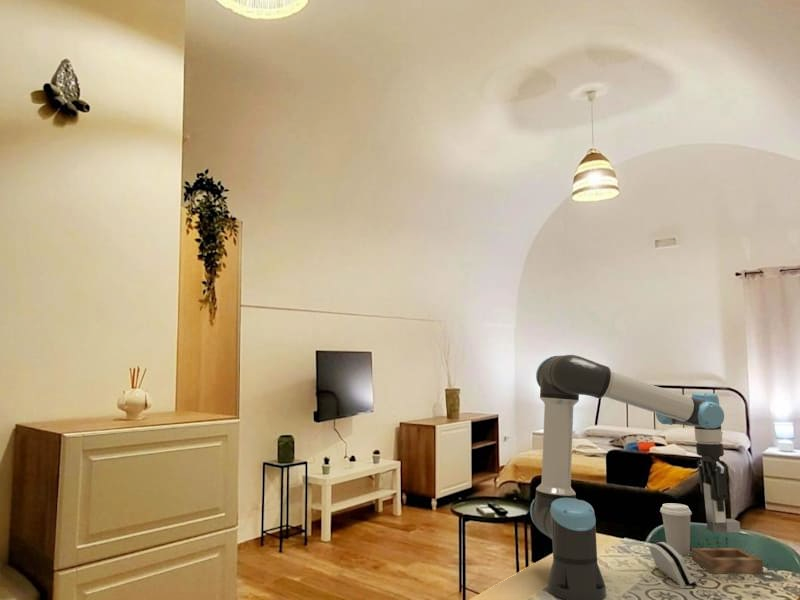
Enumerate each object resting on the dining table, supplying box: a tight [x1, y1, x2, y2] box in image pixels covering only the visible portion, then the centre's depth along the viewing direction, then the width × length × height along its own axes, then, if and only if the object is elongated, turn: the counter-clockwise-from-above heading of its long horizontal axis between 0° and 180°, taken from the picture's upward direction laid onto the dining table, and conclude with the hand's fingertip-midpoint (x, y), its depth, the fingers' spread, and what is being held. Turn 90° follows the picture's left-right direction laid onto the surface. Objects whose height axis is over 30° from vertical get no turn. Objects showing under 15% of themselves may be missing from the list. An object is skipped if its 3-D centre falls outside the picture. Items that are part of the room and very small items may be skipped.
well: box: [690, 547, 764, 575], centre depth 173 cm, size 15×12×4 cm
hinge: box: [648, 541, 700, 587], centre depth 166 cm, size 17×5×10 cm, turn 179°
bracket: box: [703, 483, 741, 534], centre depth 175 cm, size 8×4×14 cm, turn 89°
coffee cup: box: [659, 502, 693, 556], centre depth 187 cm, size 10×10×15 cm
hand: (716, 520), depth 174 cm, fingers closed on bracket, 4 cm apart
